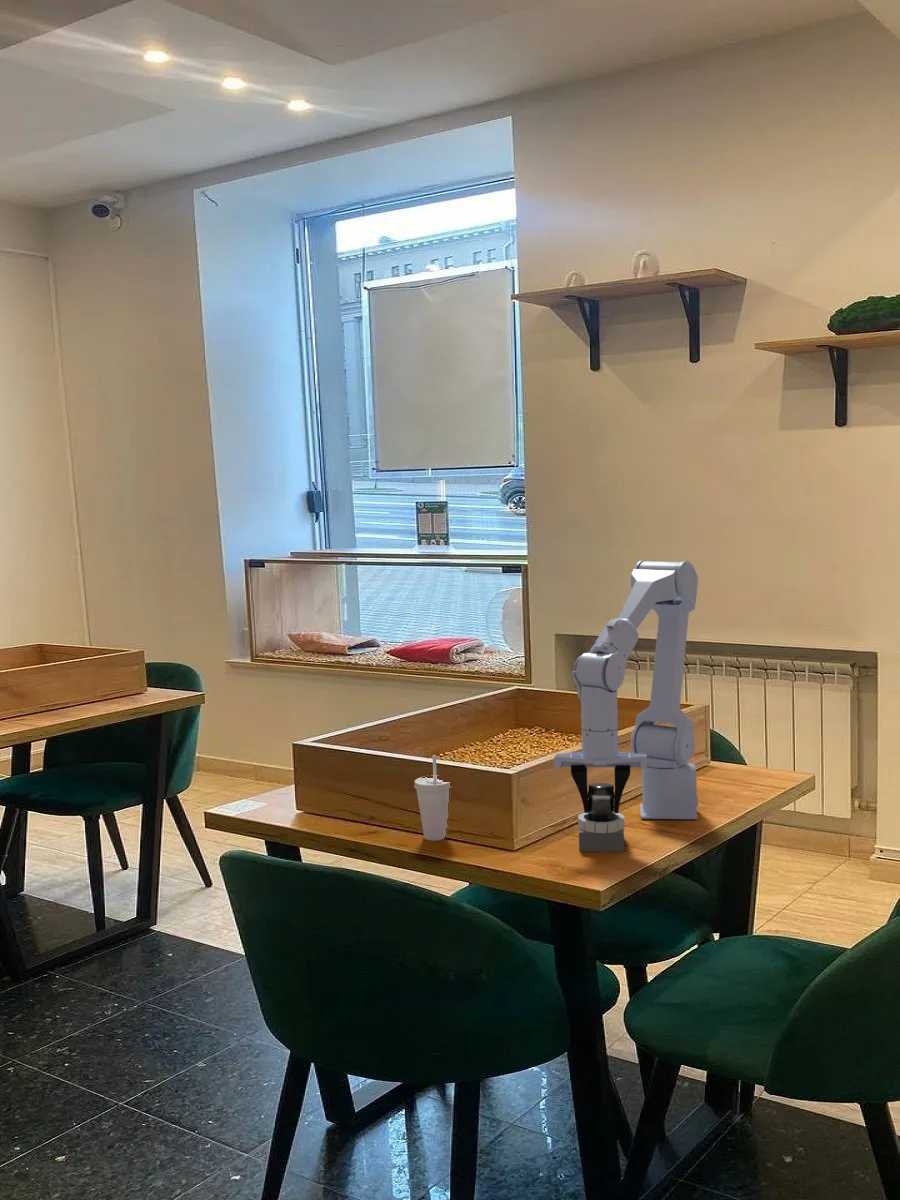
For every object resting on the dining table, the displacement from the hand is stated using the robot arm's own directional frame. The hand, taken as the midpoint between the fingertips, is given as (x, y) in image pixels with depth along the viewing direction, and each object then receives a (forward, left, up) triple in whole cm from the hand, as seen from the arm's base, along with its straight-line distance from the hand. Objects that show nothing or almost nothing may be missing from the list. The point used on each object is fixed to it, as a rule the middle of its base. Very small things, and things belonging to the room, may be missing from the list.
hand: (601, 811), depth 181 cm
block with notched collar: (0, 0, -5) cm, 5 cm away
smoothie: (+28, -2, -6) cm, 28 cm away
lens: (0, 0, -2) cm, 2 cm away
